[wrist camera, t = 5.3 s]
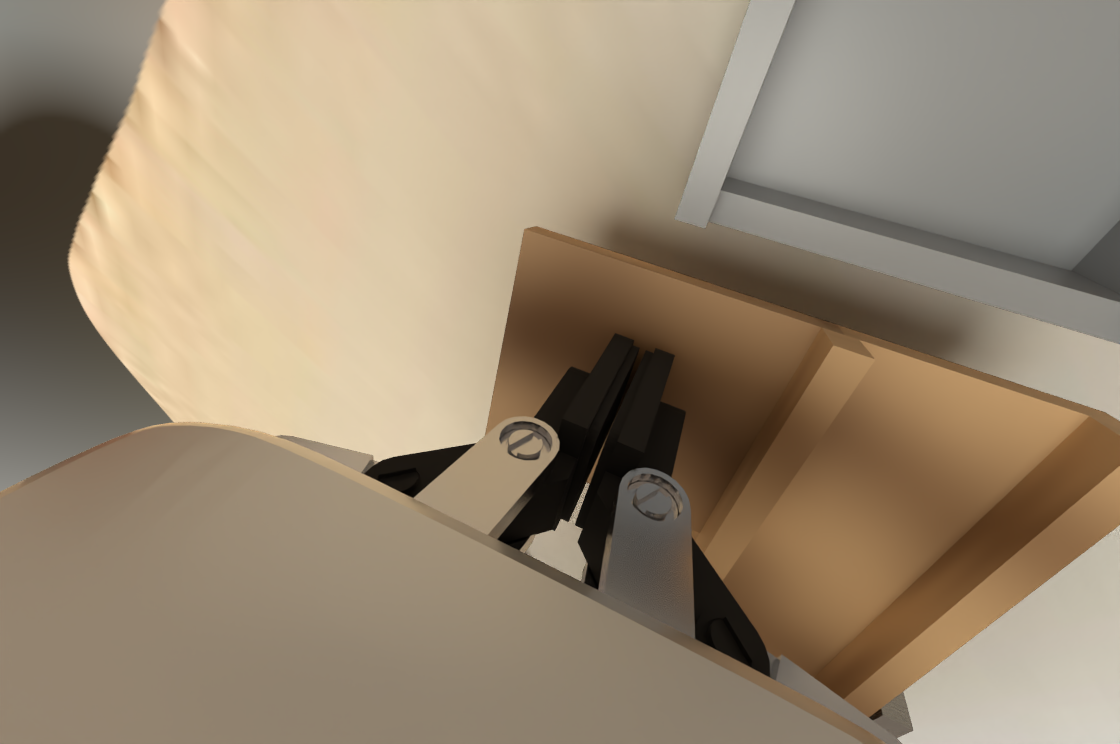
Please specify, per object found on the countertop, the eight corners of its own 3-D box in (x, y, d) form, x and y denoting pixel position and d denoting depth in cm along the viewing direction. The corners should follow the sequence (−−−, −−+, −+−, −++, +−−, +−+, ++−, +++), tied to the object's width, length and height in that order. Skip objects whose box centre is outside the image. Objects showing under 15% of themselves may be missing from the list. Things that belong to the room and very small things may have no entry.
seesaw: (703, 739, 21) (698, 848, 18) (470, 612, 24) (427, 684, 20) (1044, 375, 11) (1194, 466, 7) (560, 220, 13) (503, 234, 10)
